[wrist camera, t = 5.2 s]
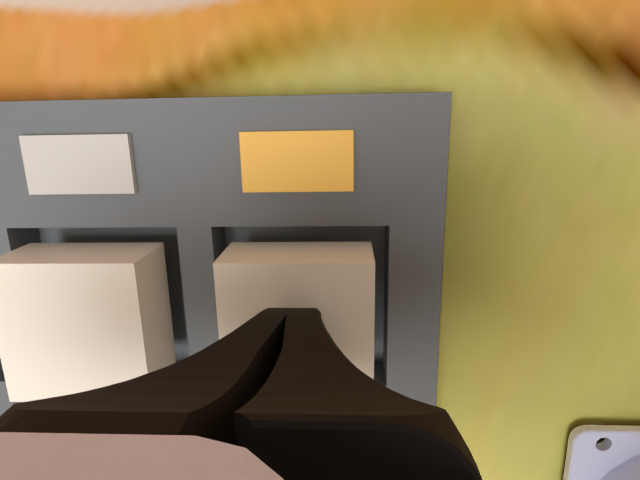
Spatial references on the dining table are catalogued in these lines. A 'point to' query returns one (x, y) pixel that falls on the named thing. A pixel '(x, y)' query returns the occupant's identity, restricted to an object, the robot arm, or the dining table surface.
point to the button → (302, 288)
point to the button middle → (82, 316)
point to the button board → (245, 196)
